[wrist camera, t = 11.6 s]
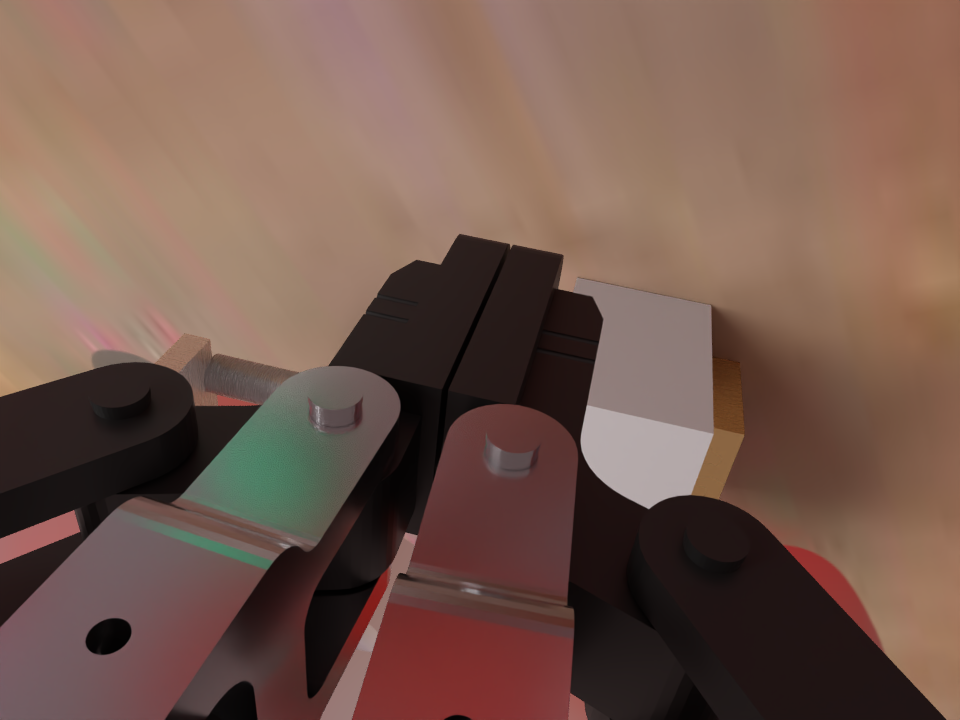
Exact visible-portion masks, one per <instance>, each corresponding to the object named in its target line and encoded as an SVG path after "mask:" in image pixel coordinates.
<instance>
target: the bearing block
mask: <svg viewBox="0 0 960 720" xmlns="http://www.w3.org/2000/svg"><path fill="white" fill-rule="evenodd" d="M573 293H578V294H583V295H588V296H593V298H594V300H595V302H596V304H597V306H598V309H599V311H600V313H601V315H602V317H603V319H604V320H603V325H602V330H601V336H600V341H599V345H598V351H597V356H596V361H595V366H594V371H593V376H592V382H591V387H590V392H589V397H588V402H587V407H586V412H585V417H584V423H583V428H582V433H581V448H582V452H583V455H584V458H585V460H586V462H587V463H588V465H589V467H590V468H591V469H592V471H593V472H594V473H595V474H596V476H597V477H598V478H600V479H601V480H602V481H603V482H604V483H605V484H606V485H608V486H609V487H610V488H612V489H613V490H614V491H616V492H618V493H619V494H621V495H623V496H624V497H626V498H628V499H630V500H632V501H634V502H636V503H638V504H640V505H642V506H644V507H646V508H648V509H650V508H651V507H652V506H654V505H655V504H657V503H658V502H660V501H662V500H665V499H667V498H671V497H675V496H682V495H691V493H692V491H693V488H694V485H695V483H696V480H697V477H698V475H699V472H700V469H701V467H702V464H703V461H704V459H705V456H706V453H707V451H708V448H709V445H710V443H711V440H712V437H713V434H714V425H713V373H712V322H711V305H708V304H703V303H698V302H693V301H688V300H683V299H679V298H674V297H669V296H664V295H659V294H654V293H650V292H645V291H640V290H635V289H630V288H625V287H621V286H616V285H611V284H606V283H601V282H596V281H592V280H587V279H582V278H577V280H576V284H575V287H574V291H573Z"/></svg>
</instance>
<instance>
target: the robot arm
mask: <svg viewBox="0 0 960 720" xmlns="http://www.w3.org/2000/svg"><path fill="white" fill-rule="evenodd" d="M562 264H563V255H562V254H557V253H552V252H547V251H542V250H537V249H532V248H527V247H522V246H517V245H513V246H512V248H511V250H510V244H507V243H502V242H497V241H492V240H487V239H482V238H477V237H472V236H467V235H462V234H459V235H458V236H457V238H456V240H455V241H454V243H453V245H452V246H451V248H450V250H449V252H448V253H447V255H446V257H445V258H444V260H443V262H442V264H441V265H439V264H434V263H429V262H424V261H420V260H416V261H414V262H412V263H410V264H408V265H407V266H405V267H403V268H401V269H399V270H398V271H396V272H394V273H392V274H391V275H390V276H389V278H388V279H387V281H386V282H385V284H384V285H383V287H382V288H381V290H380V291H379V292H378V295H377V298H374V300H373V301H372V303H371V304H370V306H369V307H368V309H367V310H366V315H365V314H363V316H362V317H361V319H360V320H359V322H358V323H357V325H356V326H355V328H354V329H353V331H352V332H351V334H350V335H349V336H348V338H347V339H346V341H345V342H344V344H343V345H342V347H341V348H340V350H339V351H338V353H337V354H336V356H335V357H334V359H333V360H332V361H331V363H330V364H329V366H326V367H319V368H314V369H309V370H306V371H303V372H300V373H298V374H296V375H294V376H292V377H290V378H289V379H287V380H286V381H284V382H283V383H282V384H281V385H280V386H279V387H278V388H277V389H276V390H275V391H274V392H273V393H272V394H271V396H270V397H269V398H268V399H267V400H266V401H265V402H264V403H263V405H256V406H195V403H194V396H193V391H192V387H191V385H190V384H189V382H188V381H187V379H186V378H185V377H184V376H183V375H181V374H180V373H178V372H177V371H175V370H172V369H170V368H168V367H165V366H161V365H158V364H151V363H139V362H132V363H120V364H113V365H108V366H104V367H100V368H97V369H93V370H90V371H87V372H83V373H80V374H76V375H73V376H70V377H66V378H63V379H60V380H56V381H53V382H49V383H46V384H43V385H39V386H36V387H32V388H29V389H26V390H22V391H19V392H16V393H12V394H9V395H5V396H2V397H0V538H3V537H5V536H8V535H10V534H13V533H16V532H18V531H21V530H23V529H26V528H28V527H31V526H34V525H36V524H39V523H42V522H44V521H47V520H49V519H51V518H54V517H57V516H60V515H62V514H65V513H67V512H70V511H73V510H74V511H75V514H76V518H77V521H78V525H79V528H80V532H79V533H77V534H74V535H72V536H69V537H67V538H64V539H62V540H59V541H57V542H54V543H52V544H49V545H47V546H44V547H42V548H39V549H37V550H34V551H32V552H29V553H27V554H24V555H22V556H19V557H17V558H14V559H12V560H9V561H7V562H4V563H2V564H0V720H320V718H321V716H322V714H323V712H324V710H325V708H326V706H327V704H328V702H329V700H330V698H331V696H332V694H333V692H334V690H335V688H336V686H337V684H338V682H339V680H340V678H341V677H342V675H343V673H344V671H345V669H346V667H347V665H348V663H349V661H350V659H351V657H352V655H353V653H354V651H355V649H356V647H357V645H358V643H359V641H360V640H361V638H362V636H363V634H364V632H365V630H366V628H367V626H368V624H369V622H370V620H371V618H372V616H373V614H374V612H375V610H376V608H377V606H378V604H379V602H380V600H381V598H382V597H383V594H384V592H385V591H386V589H387V586H388V584H389V581H390V576H391V564H392V562H393V560H394V558H395V556H396V554H397V551H398V549H399V546H400V544H401V542H402V539H403V537H404V534H405V532H407V533H411V534H415V535H418V536H417V539H416V543H415V546H414V550H413V553H412V557H411V560H410V564H409V567H408V570H407V572H406V574H403V573H399V574H398V576H397V578H396V580H395V582H394V585H393V587H392V590H391V593H390V596H389V599H388V602H387V605H386V609H385V612H384V615H383V618H382V622H381V625H380V629H379V632H378V635H377V638H376V642H375V645H374V648H373V651H372V655H371V658H370V661H369V665H368V668H367V671H366V675H365V678H364V681H363V684H362V688H361V691H360V694H359V697H358V701H357V704H356V707H355V711H354V714H353V718H352V720H568V717H569V701H570V693H571V694H573V695H574V696H576V697H578V698H579V699H581V700H582V701H584V702H585V711H586V715H587V718H588V720H946V719H945V718H944V717H943V715H942V714H941V713H940V712H939V711H938V710H937V709H936V708H935V707H934V706H933V705H932V704H931V703H930V702H929V701H928V699H927V698H926V697H925V696H924V695H923V694H922V693H921V692H920V691H919V690H918V689H917V688H916V687H915V686H914V685H913V683H912V682H911V681H910V680H909V679H908V678H907V677H906V676H905V675H904V674H903V673H902V672H901V671H900V670H899V669H898V668H897V666H896V665H895V664H894V663H893V662H892V661H891V660H890V659H889V658H888V657H887V656H886V655H885V654H884V653H883V652H882V650H881V649H880V648H879V647H878V646H877V645H876V644H875V643H874V642H873V641H872V640H871V639H870V638H869V637H868V636H867V634H866V633H865V632H864V631H863V630H862V629H861V628H860V627H859V626H858V625H857V624H856V623H855V622H854V621H853V620H852V618H851V617H850V616H849V615H848V614H847V613H846V612H845V611H844V610H843V609H842V608H841V607H840V606H839V605H838V604H837V603H836V601H835V600H834V599H833V598H832V597H831V596H830V595H829V594H828V593H827V592H826V591H825V590H824V589H823V588H822V587H821V586H820V585H819V583H818V582H817V581H816V580H815V579H814V578H813V577H812V576H811V575H810V574H809V573H808V572H807V571H806V569H805V568H804V567H803V566H802V565H801V564H800V563H799V562H798V561H797V560H796V559H795V558H794V557H793V556H792V555H791V553H790V552H788V550H787V549H786V548H785V547H784V546H783V545H782V544H781V543H780V542H779V541H778V540H777V539H776V537H775V536H774V535H773V534H772V533H771V532H770V531H769V530H768V529H767V528H766V527H765V526H764V525H763V524H762V523H761V522H759V521H758V520H757V519H755V518H754V517H753V516H751V515H750V514H748V513H747V512H745V511H743V510H741V509H740V508H738V507H736V506H734V505H731V504H729V503H727V502H724V501H721V500H718V499H715V498H710V497H705V496H696V495H682V496H675V497H671V498H667V499H665V500H662V501H660V502H658V503H657V504H655V505H654V506H652V507H651V508H650V509H648V508H646V507H644V506H642V505H640V504H638V503H636V502H634V501H632V500H630V499H628V498H626V497H624V496H623V495H621V494H619V493H618V492H616V491H614V490H613V489H612V488H610V487H609V486H608V485H606V484H605V483H604V482H603V481H602V480H601V479H600V478H598V477H597V476H596V474H595V473H594V472H593V471H592V469H591V468H590V467H589V465H588V463H587V462H586V460H585V458H584V455H583V452H582V448H581V433H582V428H583V423H584V417H585V412H586V407H587V402H588V397H589V392H590V387H591V382H592V376H593V371H594V366H595V361H596V356H597V351H598V345H599V341H600V336H601V330H602V325H603V320H604V319H603V317H602V315H601V313H600V311H599V309H598V306H597V304H596V302H595V300H594V298H593V296H588V295H583V294H578V293H573V292H569V291H564V290H559V289H558V286H559V281H560V276H561V270H562Z"/></svg>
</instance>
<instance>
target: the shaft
mask: <svg viewBox="0 0 960 720" xmlns="http://www.w3.org/2000/svg"><path fill="white" fill-rule="evenodd" d="M155 364H158V365H161V366H165V367H168V368H170V369H172V370H175V371H177V372H178V373H180V374H181V375H183V376H184V377H185V378H186V379H187V381H188V382H189V384H190V385H191V387H192V391H193V396H194V403H195V406H218V401H217V395H221V396H225V397H229V398H233V399H238V400H242V401H246V402H250V403H255V404H259V405H263V403H264V402H265V401H266V400H267V399H268V398H269V397H270V396H271V394H272V393H273V392H274V391H275V390H276V389H277V388H278V387H279V386H280V385H281V384H282V383H283V382H284V381H286V380H287V379H289V378H290V377H292V376H294V375H296V374H298V373H299V372H295V371H290V370H286V369H282V368H278V367H273V366H269V365H265V364H260V363H256V362H252V361H247V360H243V359H239V358H235V357H230V356H226V355H222V354H216V355H214V356H213V357H212V351H211V343H210V339H207V338H202V337H198V336H194V335H189V334H184V335H183V336H182V337H181V338H180V339H179V340H178V341H177V342H176V343H175V344H174V345H173V346H172V347H171V348H170V349H169V350H168V351H167V352H166V353H165V354H164V355H163V356H162V357H161V358H160V359H159V360H158V361H157V362H156V363H155Z"/></svg>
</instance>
